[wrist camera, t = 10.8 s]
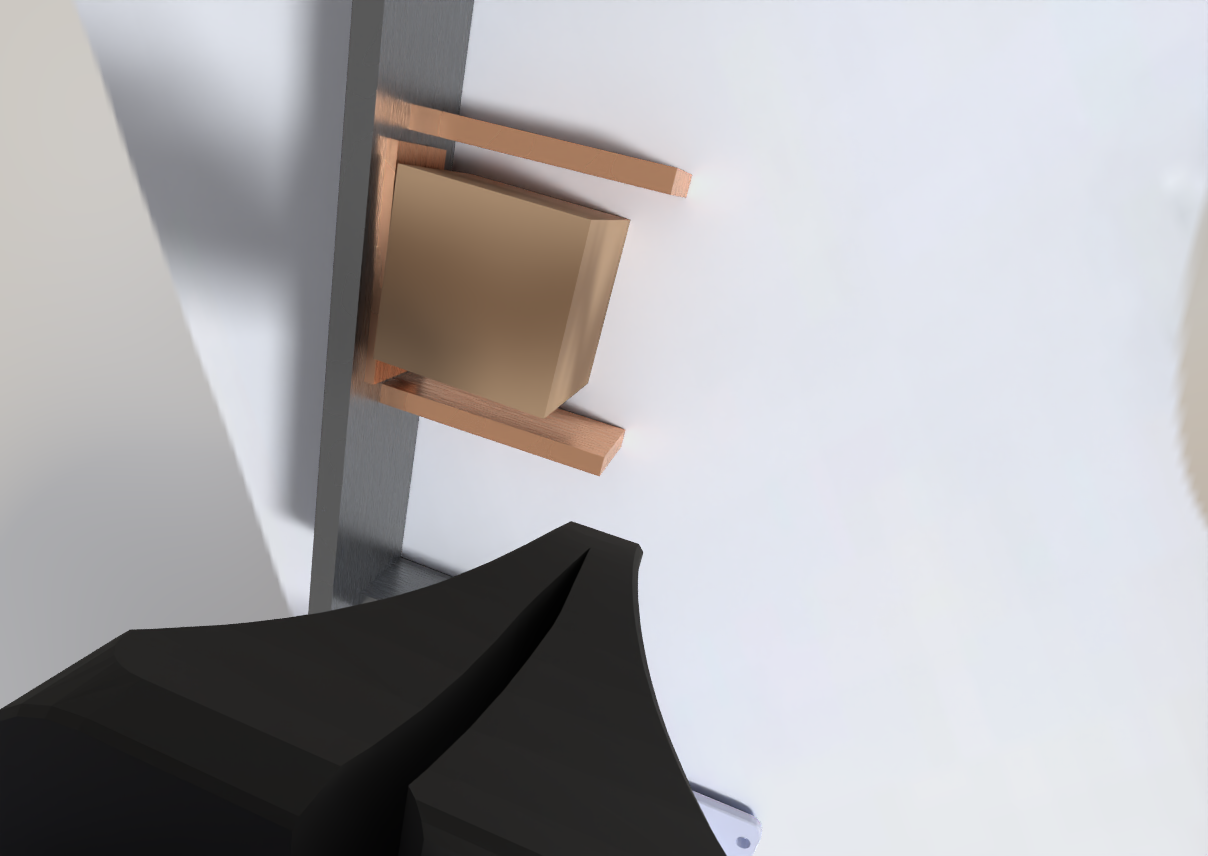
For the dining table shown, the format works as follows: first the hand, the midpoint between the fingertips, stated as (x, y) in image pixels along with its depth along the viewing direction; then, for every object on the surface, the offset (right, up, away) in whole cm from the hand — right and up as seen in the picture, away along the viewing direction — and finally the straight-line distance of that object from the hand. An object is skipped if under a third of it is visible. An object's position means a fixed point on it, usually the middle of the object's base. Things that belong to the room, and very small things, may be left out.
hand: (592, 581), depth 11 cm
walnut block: (-2, +7, +9) cm, 11 cm away
